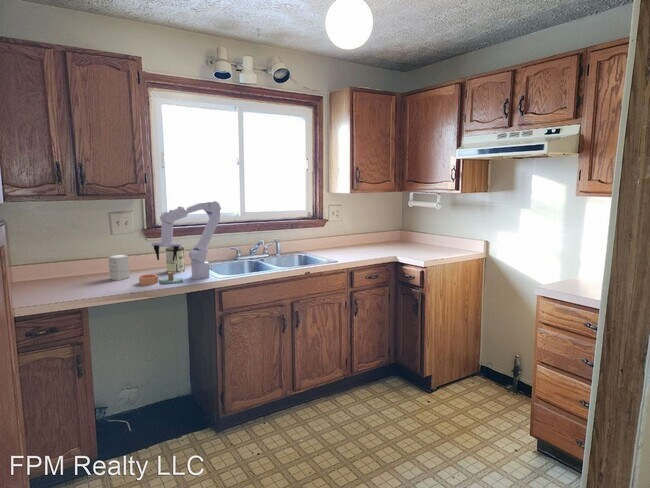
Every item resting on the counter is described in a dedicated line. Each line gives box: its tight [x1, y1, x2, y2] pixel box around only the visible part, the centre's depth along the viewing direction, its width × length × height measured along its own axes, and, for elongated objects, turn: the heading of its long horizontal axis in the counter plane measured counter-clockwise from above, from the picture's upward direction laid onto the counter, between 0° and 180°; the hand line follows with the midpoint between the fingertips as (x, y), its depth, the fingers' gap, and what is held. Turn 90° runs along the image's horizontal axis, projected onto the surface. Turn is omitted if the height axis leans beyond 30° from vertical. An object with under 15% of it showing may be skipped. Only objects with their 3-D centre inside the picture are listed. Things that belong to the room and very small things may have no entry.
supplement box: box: [107, 254, 130, 281], centre depth 233 cm, size 7×7×13 cm
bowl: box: [138, 273, 159, 286], centre depth 223 cm, size 9×9×4 cm
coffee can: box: [165, 246, 186, 274], centre depth 251 cm, size 10×10×14 cm
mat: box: [158, 277, 185, 286], centre depth 227 cm, size 12×12×1 cm
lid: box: [159, 272, 183, 285], centre depth 227 cm, size 11×11×5 cm
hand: (165, 260), depth 224 cm, fingers open, 7 cm apart
